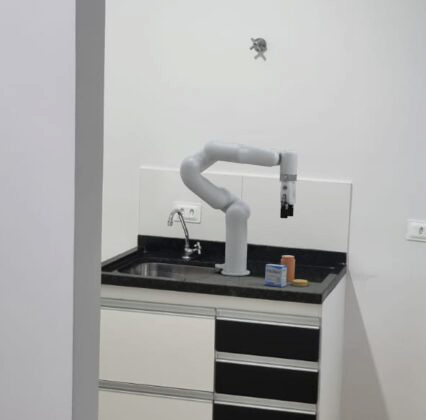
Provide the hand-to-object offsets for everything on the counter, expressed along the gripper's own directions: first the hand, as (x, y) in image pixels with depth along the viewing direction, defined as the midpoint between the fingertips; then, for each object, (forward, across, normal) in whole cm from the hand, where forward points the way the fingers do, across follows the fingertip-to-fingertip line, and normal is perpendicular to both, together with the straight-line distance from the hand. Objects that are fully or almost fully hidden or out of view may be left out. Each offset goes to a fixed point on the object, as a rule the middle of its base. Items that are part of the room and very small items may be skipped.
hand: (286, 217), depth 380 cm
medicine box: (+26, -24, -3) cm, 36 cm away
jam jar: (+26, -10, -4) cm, 28 cm away
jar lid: (+25, -18, -12) cm, 33 cm away
